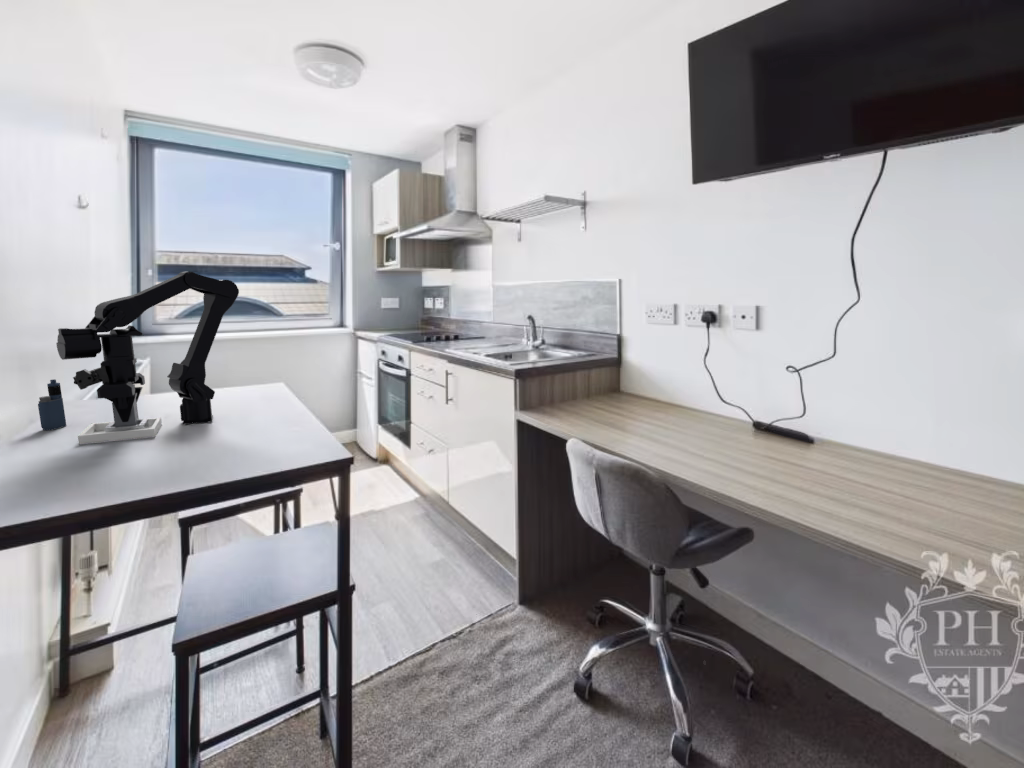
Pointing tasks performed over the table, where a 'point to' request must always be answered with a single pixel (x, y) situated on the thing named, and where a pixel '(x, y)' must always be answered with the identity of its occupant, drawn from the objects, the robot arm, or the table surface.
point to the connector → (132, 420)
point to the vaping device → (52, 408)
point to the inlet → (141, 425)
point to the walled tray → (97, 432)
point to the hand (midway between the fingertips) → (127, 419)
